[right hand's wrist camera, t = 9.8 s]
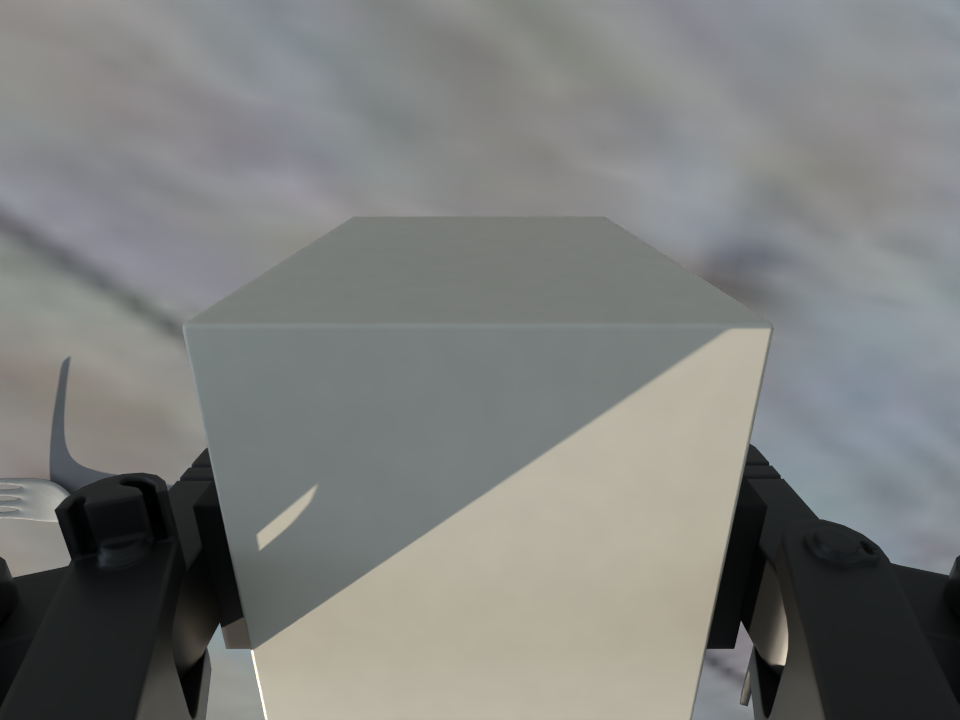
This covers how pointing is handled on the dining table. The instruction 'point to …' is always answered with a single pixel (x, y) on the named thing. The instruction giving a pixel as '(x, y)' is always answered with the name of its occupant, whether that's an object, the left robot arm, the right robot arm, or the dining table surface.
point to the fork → (33, 499)
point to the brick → (478, 468)
